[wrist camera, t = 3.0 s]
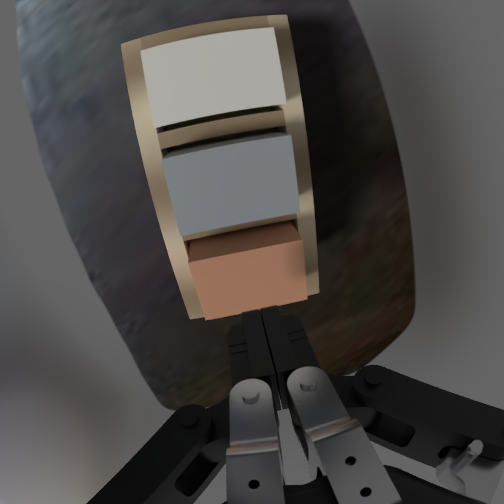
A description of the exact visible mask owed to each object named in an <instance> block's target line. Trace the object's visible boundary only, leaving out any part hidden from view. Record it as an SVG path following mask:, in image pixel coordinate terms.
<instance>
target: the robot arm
mask: <svg viewBox="0 0 504 504" xmlns="http://www.w3.org/2000/svg"><path fill="white" fill-rule="evenodd" d="M260 312H261V316H260ZM260 312H259V309H255V310H250V311H245V312H242V319H243V325H238V326H233V327H231V329H230V331H229V333H228V335H227V340H228V350H229V359H230V368H231V377H232V389H231V392H230V394H229V395H228V396H227V398H225V399H224V400H223V401H222V402H220V403H218V404H216V405H214V406H211V407H209V408H207V409H206V408H204V407H203V406H200V405H196V404H190V405H185V406H183V407H181V408H179V409H178V410H176V411H175V412H174V414H173V415H172V416H171V417H170V418H169V419H168V420H167V421H166V422H165V423H164V424H163V426H162V427H161V428H160V429H159V430H158V431H157V432H156V433H155V434H154V435H153V436H152V437H151V438H150V440H149V441H148V442H147V443H146V444H145V445H144V446H143V447H142V448H141V449H140V450H139V451H138V452H137V453H136V454H135V456H134V457H132V459H131V460H130V461H129V462H128V463H127V464H126V465H125V466H124V467H123V468H122V469H121V470H120V471H119V472H118V473H117V474H116V475H115V476H114V477H113V478H112V479H111V480H110V481H109V482H108V483H107V484H106V485H105V486H104V487H103V488H102V489H101V490H100V491H99V492H98V493H97V494H96V495H95V496H94V497H93V498H92V499H91V500H90V501H89V502H88V503H87V504H193V503H194V502H195V501H196V500H197V499H198V497H199V496H200V495H201V494H202V493H203V491H204V490H205V489H206V488H207V486H208V485H209V484H210V482H211V481H212V480H213V479H214V477H215V476H216V475H217V473H218V472H219V471H220V470H221V468H222V467H223V466H224V465H225V463H226V491H227V501H226V502H224V503H222V504H490V502H491V500H492V498H493V495H494V493H495V491H496V488H497V486H498V483H499V480H500V478H501V475H502V472H503V469H504V410H502V409H499V408H496V407H493V406H489V405H487V404H483V403H481V402H477V401H474V400H471V399H469V398H466V397H463V396H460V395H457V394H454V393H451V392H448V391H446V390H443V389H440V388H437V387H434V386H432V385H429V384H426V383H424V382H421V381H418V380H416V379H413V378H410V377H408V376H405V375H403V374H400V373H397V372H395V371H392V370H390V369H387V368H385V367H382V366H379V365H369V366H365V367H363V368H361V369H360V370H358V371H357V372H356V374H355V376H335V375H331V374H328V373H326V372H325V371H324V370H322V369H321V367H320V366H319V364H318V362H317V359H316V357H315V354H314V352H313V350H312V347H311V345H310V342H309V340H308V338H307V335H306V333H305V331H304V328H303V326H302V323H301V321H300V320H299V319H298V318H297V317H295V316H294V315H293V314H289V315H285V316H281V314H280V311H279V308H278V306H277V305H274V306H269V307H264V308H260ZM261 318H262V320H261ZM262 323H263V324H262ZM278 392H279V393H278ZM279 396H280V399H281V403H282V407H283V409H287V408H289V410H290V415H291V419H292V425H293V428H294V431H295V434H296V436H297V439H298V441H299V444H300V447H301V449H302V452H303V454H304V457H305V460H306V462H307V466H308V470H309V474H310V477H311V480H312V481H311V482H309V483H307V484H304V485H287V483H286V477H285V471H284V464H283V456H282V449H281V442H280V435H279V419H278V414H277V411H278V410H281V405H280V399H279ZM370 441H372V442H375V443H377V444H379V445H381V446H383V447H386V448H388V449H390V450H392V451H395V452H397V453H399V454H402V455H404V456H406V457H409V458H411V459H414V460H416V461H419V462H422V463H424V464H427V465H429V466H432V467H434V468H436V476H437V478H438V480H439V482H440V483H442V484H443V485H445V486H447V487H448V488H449V489H450V490H451V491H450V490H448V489H445V488H443V487H440V486H438V485H435V484H433V483H430V482H428V481H426V480H423V479H421V478H418V477H416V476H414V475H412V474H410V473H408V472H405V471H403V470H401V469H399V468H396V467H392V466H387V465H383V464H382V462H381V461H380V459H379V457H378V455H377V453H376V451H375V450H374V447H373V446H372V444H371V442H370Z"/></svg>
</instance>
